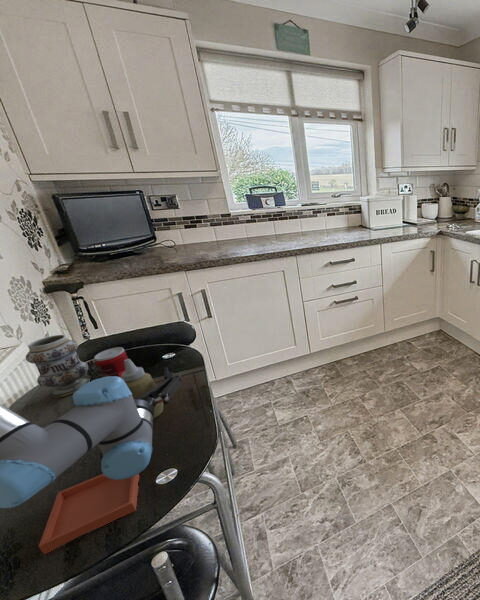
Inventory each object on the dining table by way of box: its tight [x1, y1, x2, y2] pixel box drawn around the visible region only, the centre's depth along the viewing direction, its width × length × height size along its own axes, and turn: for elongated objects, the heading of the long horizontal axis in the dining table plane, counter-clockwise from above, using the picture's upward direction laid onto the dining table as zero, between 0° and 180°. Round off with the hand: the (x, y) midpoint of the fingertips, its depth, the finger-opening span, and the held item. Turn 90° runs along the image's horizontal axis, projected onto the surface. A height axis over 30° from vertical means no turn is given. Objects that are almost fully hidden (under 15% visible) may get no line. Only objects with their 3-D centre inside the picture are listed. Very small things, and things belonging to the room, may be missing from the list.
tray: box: [38, 473, 140, 555], centre depth 66 cm, size 13×13×2 cm
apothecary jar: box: [25, 334, 91, 398], centre depth 106 cm, size 12×12×18 cm
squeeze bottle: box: [122, 358, 164, 420], centre depth 89 cm, size 8×8×18 cm
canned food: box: [93, 346, 129, 379], centre depth 108 cm, size 8×8×11 cm
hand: (138, 380), depth 91 cm, fingers open, 13 cm apart
